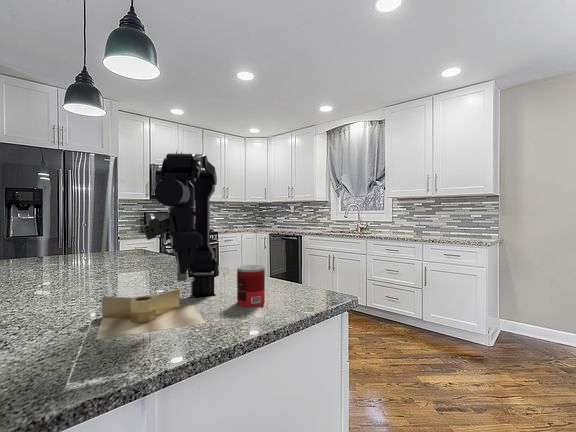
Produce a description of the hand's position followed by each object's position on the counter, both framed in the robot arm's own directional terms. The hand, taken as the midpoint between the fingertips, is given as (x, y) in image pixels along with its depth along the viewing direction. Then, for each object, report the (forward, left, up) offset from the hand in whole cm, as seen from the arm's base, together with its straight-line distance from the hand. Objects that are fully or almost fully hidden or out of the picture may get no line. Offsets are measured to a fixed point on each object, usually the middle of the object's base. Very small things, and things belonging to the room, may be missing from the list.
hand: (182, 273), depth 75 cm
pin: (0, 0, -2) cm, 2 cm away
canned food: (-20, -7, -12) cm, 25 cm away
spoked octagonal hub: (+8, -7, -11) cm, 16 cm away
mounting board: (+6, -4, -12) cm, 14 cm away
